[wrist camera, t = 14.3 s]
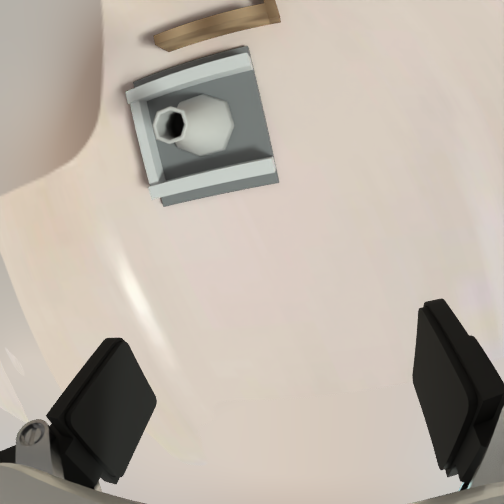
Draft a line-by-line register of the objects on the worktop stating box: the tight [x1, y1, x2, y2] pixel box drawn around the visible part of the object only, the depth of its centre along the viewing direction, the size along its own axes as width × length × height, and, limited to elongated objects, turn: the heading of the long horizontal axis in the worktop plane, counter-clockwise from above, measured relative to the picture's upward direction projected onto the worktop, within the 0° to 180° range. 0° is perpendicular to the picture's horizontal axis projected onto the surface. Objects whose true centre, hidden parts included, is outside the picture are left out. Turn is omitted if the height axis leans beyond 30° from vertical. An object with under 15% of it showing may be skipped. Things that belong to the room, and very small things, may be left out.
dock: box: [126, 46, 279, 207], centre depth 32 cm, size 14×16×3 cm
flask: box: [152, 94, 234, 157], centre depth 29 cm, size 7×7×10 cm
